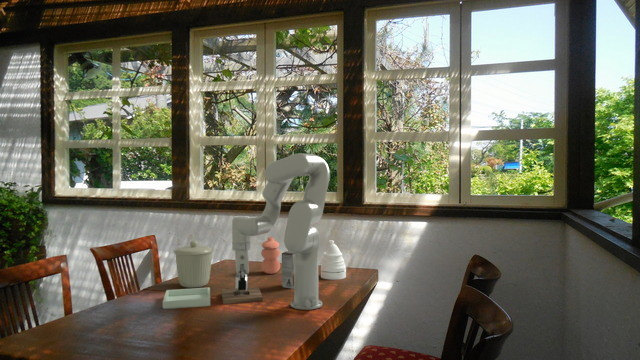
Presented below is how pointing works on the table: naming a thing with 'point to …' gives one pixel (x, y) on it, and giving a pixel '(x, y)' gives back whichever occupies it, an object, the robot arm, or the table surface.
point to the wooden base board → (241, 296)
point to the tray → (186, 298)
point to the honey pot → (333, 263)
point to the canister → (193, 265)
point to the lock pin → (241, 292)
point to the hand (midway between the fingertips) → (241, 287)
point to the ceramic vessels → (271, 257)
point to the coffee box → (288, 269)
